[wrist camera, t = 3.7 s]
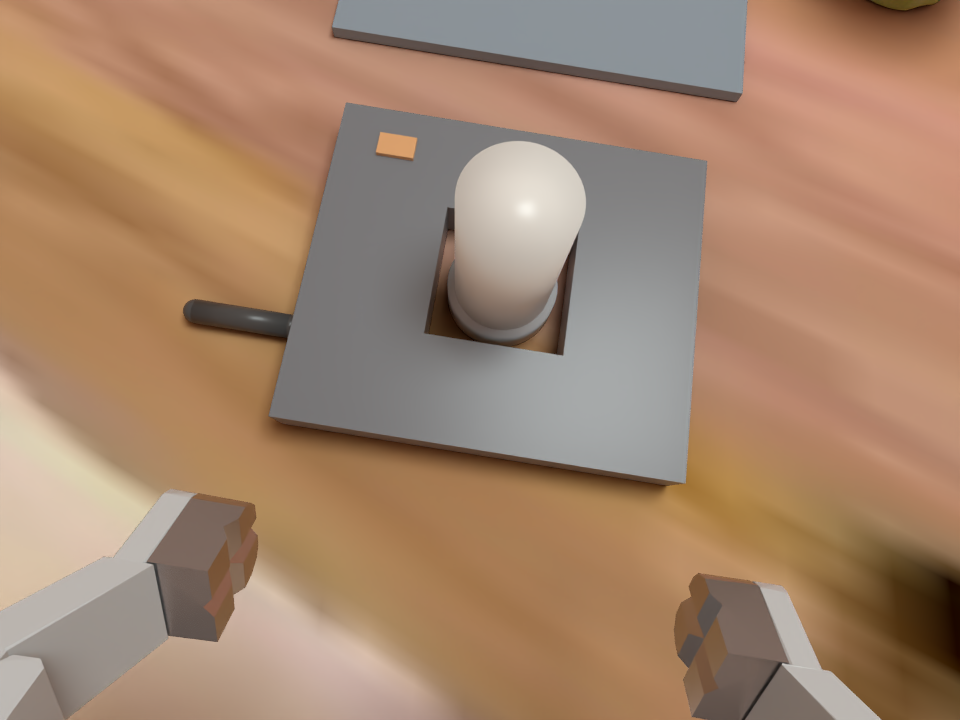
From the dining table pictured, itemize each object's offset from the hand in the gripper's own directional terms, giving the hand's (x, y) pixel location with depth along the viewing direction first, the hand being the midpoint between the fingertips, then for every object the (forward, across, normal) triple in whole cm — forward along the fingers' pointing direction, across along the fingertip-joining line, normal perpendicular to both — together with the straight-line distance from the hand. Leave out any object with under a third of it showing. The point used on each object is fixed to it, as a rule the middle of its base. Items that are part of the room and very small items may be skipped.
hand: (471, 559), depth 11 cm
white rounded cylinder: (+17, 0, +2) cm, 17 cm away
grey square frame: (+17, +2, +2) cm, 17 cm away
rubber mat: (+29, 0, -11) cm, 31 cm away
